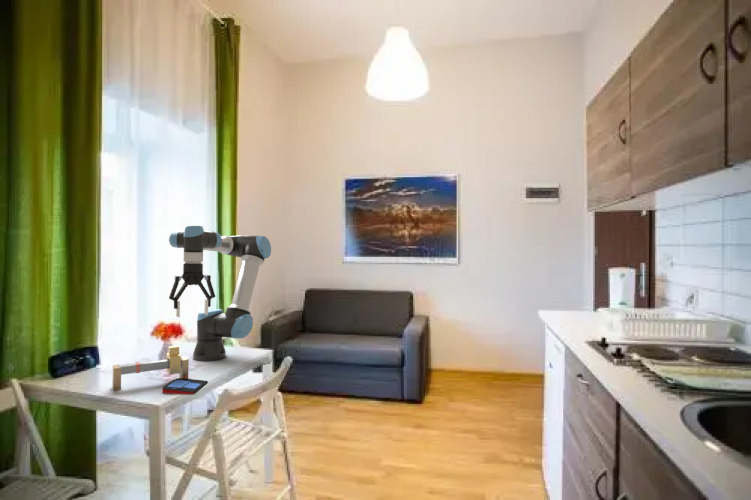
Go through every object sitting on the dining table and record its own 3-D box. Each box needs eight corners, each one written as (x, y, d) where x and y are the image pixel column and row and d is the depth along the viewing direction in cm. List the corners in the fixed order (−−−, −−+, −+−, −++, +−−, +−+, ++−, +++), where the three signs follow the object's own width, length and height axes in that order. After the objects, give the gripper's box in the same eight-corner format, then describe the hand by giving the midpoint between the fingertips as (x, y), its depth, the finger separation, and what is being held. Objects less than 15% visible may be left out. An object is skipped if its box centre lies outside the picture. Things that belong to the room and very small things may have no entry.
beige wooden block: (177, 368, 183) (177, 344, 183) (180, 373, 177) (181, 347, 177) (166, 370, 180) (166, 345, 180) (169, 374, 175) (170, 349, 175)
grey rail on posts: (185, 376, 184) (185, 356, 184) (188, 379, 180) (188, 358, 180) (112, 387, 169) (112, 364, 169) (113, 391, 165) (113, 367, 164)
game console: (193, 395, 163) (193, 389, 163) (159, 394, 163) (159, 388, 163) (208, 383, 177) (208, 377, 177) (177, 382, 177) (177, 377, 177)
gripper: (218, 262, 192) (218, 312, 192) (161, 262, 179) (160, 316, 179) (223, 262, 186) (223, 314, 186) (164, 263, 173) (163, 319, 173)
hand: (192, 315), depth 183 cm, fingers open, 10 cm apart
